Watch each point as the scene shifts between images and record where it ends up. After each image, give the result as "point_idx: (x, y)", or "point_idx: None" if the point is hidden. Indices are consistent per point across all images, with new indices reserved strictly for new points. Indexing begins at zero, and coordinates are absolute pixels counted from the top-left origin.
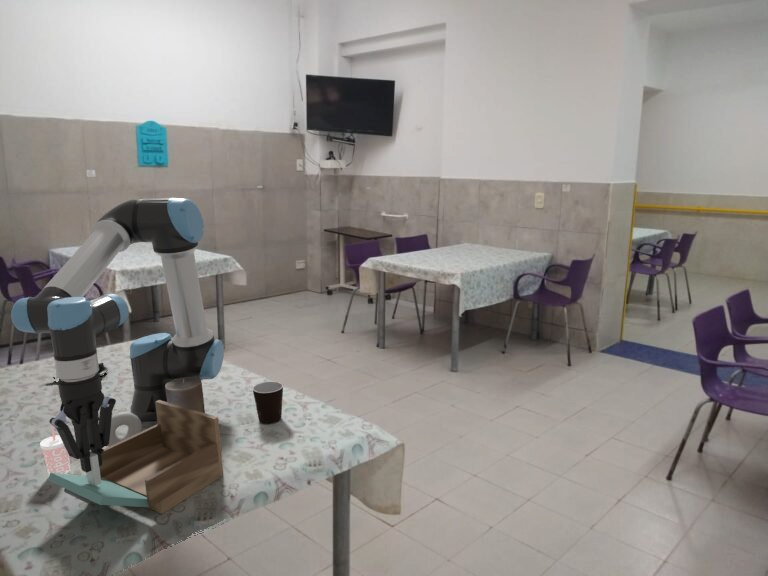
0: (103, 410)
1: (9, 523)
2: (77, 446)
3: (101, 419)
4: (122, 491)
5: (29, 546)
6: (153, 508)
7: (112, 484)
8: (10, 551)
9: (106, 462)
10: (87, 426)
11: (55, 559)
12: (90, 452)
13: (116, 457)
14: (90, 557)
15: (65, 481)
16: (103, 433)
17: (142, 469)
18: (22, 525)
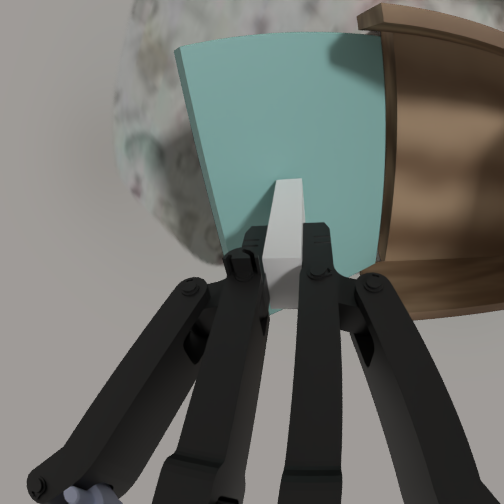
0: (420, 502)
1: (138, 3)
2: (195, 377)
3: (404, 440)
4: (348, 222)
5: (146, 127)
6: (381, 230)
7: (371, 135)
8: (117, 116)
9: (427, 33)
10: (290, 428)
11: (174, 207)
12: (295, 272)
13: (464, 41)
14: (221, 249)
15: (203, 157)
16: (369, 374)
17: (474, 112)
18: (155, 30)
